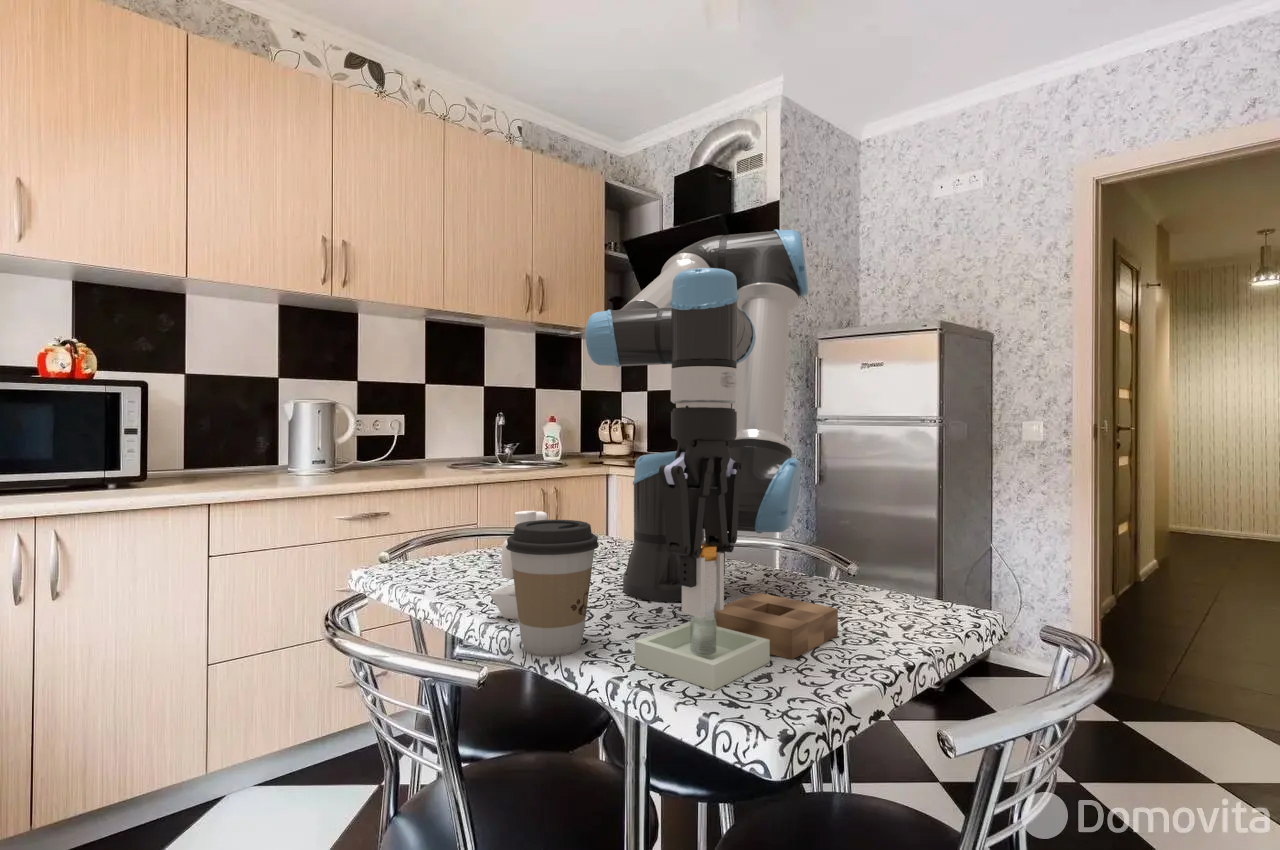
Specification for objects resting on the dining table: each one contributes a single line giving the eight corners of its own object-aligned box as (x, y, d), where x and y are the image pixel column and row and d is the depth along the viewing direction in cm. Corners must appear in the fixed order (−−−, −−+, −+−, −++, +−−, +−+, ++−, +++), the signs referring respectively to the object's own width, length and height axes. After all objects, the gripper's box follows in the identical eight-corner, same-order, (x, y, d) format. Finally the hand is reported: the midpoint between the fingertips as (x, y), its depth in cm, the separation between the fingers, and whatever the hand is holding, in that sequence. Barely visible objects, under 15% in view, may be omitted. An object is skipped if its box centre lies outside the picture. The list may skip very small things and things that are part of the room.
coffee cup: (586, 666, 74) (586, 533, 74) (490, 660, 76) (491, 530, 76) (607, 634, 85) (607, 519, 85) (523, 629, 87) (524, 517, 87)
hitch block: (708, 637, 85) (708, 610, 85) (758, 617, 94) (758, 592, 94) (792, 659, 77) (792, 629, 77) (837, 635, 86) (837, 608, 86)
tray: (635, 664, 75) (635, 641, 75) (693, 640, 83) (693, 620, 83) (713, 690, 68) (713, 665, 68) (769, 662, 76) (769, 639, 76)
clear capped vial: (684, 650, 75) (685, 545, 75) (700, 644, 77) (700, 542, 77) (706, 656, 73) (706, 549, 73) (721, 650, 75) (721, 545, 75)
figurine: (484, 621, 91) (484, 513, 91) (522, 604, 100) (522, 505, 100) (528, 627, 88) (528, 516, 88) (563, 609, 97) (564, 508, 97)
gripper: (686, 403, 67) (685, 634, 67) (768, 407, 79) (768, 603, 79) (632, 405, 72) (631, 619, 72) (717, 408, 84) (716, 592, 84)
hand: (702, 610), depth 75 cm, fingers closed on clear capped vial, 3 cm apart
